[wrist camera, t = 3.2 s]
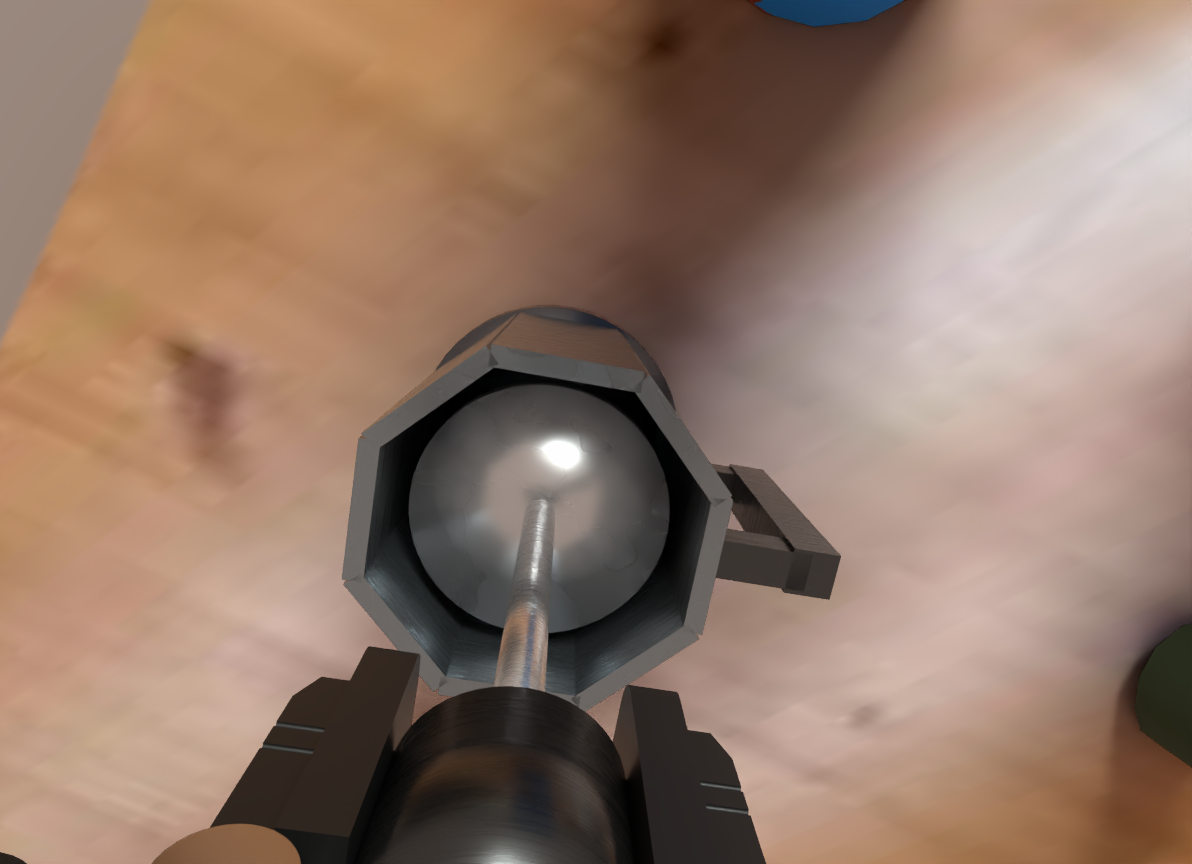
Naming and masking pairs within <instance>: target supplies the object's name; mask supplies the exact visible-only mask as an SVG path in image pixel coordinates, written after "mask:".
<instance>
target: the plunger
mask: <svg viewBox="0 0 1192 864" xmlns="http://www.w3.org/2000/svg"><path fill="white" fill-rule="evenodd" d="M669 505H670V503H669V495H668V487H667V483H666V480H665V476H664V472H663V469H662V467H661V465H660V462H659V460H658V458H657V455H656V453H655V451H654V449H653V447H652V445H651V443H650V442H649V440H648V438H647V437H646V435H645V434H644V432H643V431H642V430H641V429H640V427H639V426H638V425H637V424H636V422H635V421H634V420H633V419H632V418H631V417H630V416H629V415H627V414H626V413H625V412H624V411H623V410H622V409H621V408H619V407H618V406H617V405H615V404H614V403H612V402H611V401H610V400H608V399H606V398H604V397H602V396H601V395H599V394H597V393H595V392H592V391H590V390H587V389H585V388H582V387H580V386H576V385H572V384H567V383H563V382H555V381H546V380H543V381H524V382H517V383H511V384H508V385H504V386H501V387H497V388H494V389H492V390H490V391H487V392H485V393H483V394H481V395H479V396H477V397H475V398H474V399H472V400H470V401H469V402H467V403H466V404H464V405H463V406H462V407H461V408H459V409H458V410H457V411H456V412H454V413H453V414H452V415H451V416H450V417H449V418H448V419H447V420H446V421H445V423H444V424H443V425H442V426H441V427H440V428H439V430H438V431H437V432H436V434H435V435H434V436H433V438H432V439H431V441H430V442H429V443H428V445H427V446H426V448H425V450H424V452H423V454H422V456H421V458H420V459H419V462H418V464H417V467H416V470H415V473H414V475H413V479H412V484H411V489H410V496H409V521H410V528H411V533H412V538H413V542H414V545H415V547H416V550H417V553H418V556H419V558H420V560H421V562H422V564H423V566H424V568H425V569H426V571H427V573H428V574H429V576H430V577H431V578H432V580H433V581H434V583H435V584H436V585H437V586H438V587H439V588H440V590H441V591H442V592H443V593H444V594H445V595H446V596H447V597H448V598H449V599H450V600H452V601H453V602H454V603H455V604H456V605H458V606H459V607H460V608H462V609H463V610H465V611H466V612H468V613H469V614H471V615H472V616H474V617H476V618H478V619H481V620H483V621H485V622H487V623H489V624H492V625H495V626H498V627H501V628H504V630H503V636H502V641H501V647H500V653H499V658H498V664H497V669H496V675H495V680H494V686H493V687H488V688H481V689H476V690H472V691H469V692H465V693H461V694H459V695H457V696H454V697H452V698H449V699H447V700H445V701H443V702H442V703H440V704H438V705H436V706H435V707H433V708H432V709H430V710H429V711H428V712H426V713H425V714H424V715H422V716H421V717H420V718H419V719H418V720H417V721H416V722H415V723H414V724H413V725H412V726H411V727H410V728H409V729H408V731H407V732H406V733H405V734H404V736H403V737H402V738H401V740H400V742H399V744H398V745H397V747H396V749H395V751H394V753H393V756H392V759H391V762H390V764H389V767H388V770H387V773H386V776H385V778H384V781H383V784H382V787H381V790H380V793H379V795H378V798H377V801H376V804H375V807H374V809H373V812H372V815H371V818H370V821H369V823H368V826H367V829H366V832H365V835H364V837H363V840H362V843H361V846H360V849H359V851H358V854H357V857H356V860H355V863H354V864H635V862H634V852H633V843H632V833H631V824H630V814H629V805H628V795H627V786H626V778H625V772H624V768H623V764H622V761H621V758H620V756H619V753H618V751H617V749H616V747H615V745H614V743H613V742H612V740H611V739H610V737H609V736H608V735H607V733H606V732H605V731H604V729H603V728H602V727H601V726H600V725H599V724H598V723H597V722H596V721H595V720H594V719H593V718H592V717H591V716H589V715H588V714H587V713H586V712H585V711H583V710H582V709H580V708H579V707H577V706H575V705H574V704H572V703H571V702H569V701H567V700H564V699H562V698H560V697H558V696H556V695H553V694H550V693H547V692H545V681H546V664H547V647H548V633H554V632H560V631H567V630H571V629H575V628H579V627H582V626H585V625H588V624H590V623H592V622H595V621H597V620H600V619H601V618H603V617H605V616H607V615H608V614H610V613H612V612H614V611H615V610H616V609H618V608H619V607H620V606H622V605H623V604H624V603H626V602H627V601H628V600H629V599H630V598H631V597H632V596H633V595H634V594H635V593H636V592H637V591H638V590H639V589H640V588H641V586H642V585H643V584H644V583H645V581H646V580H647V579H648V578H649V576H650V574H651V573H652V571H653V569H654V568H655V566H656V564H657V562H658V560H659V557H660V555H661V553H662V551H663V547H664V544H665V540H666V537H667V532H668V525H669Z"/></svg>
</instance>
